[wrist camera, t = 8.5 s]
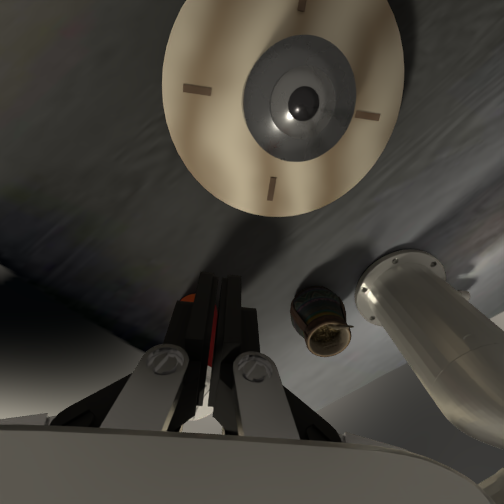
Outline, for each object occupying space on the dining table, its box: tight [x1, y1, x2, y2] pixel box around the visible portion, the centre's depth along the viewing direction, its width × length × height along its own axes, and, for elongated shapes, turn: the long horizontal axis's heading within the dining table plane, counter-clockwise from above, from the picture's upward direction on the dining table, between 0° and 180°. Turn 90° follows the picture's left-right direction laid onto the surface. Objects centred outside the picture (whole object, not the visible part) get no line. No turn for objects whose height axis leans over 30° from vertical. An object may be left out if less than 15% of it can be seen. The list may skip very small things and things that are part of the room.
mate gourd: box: [290, 286, 354, 357], centre depth 38 cm, size 7×8×10 cm
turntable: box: [162, 0, 404, 217], centre depth 28 cm, size 22×22×2 cm
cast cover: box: [242, 35, 356, 162], centre depth 25 cm, size 9×9×5 cm
